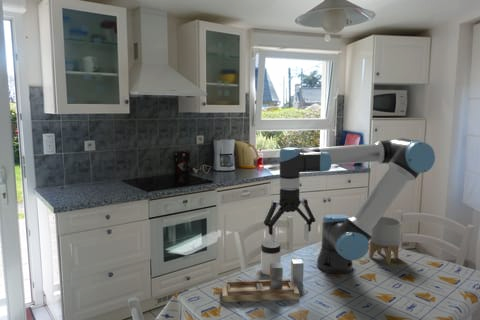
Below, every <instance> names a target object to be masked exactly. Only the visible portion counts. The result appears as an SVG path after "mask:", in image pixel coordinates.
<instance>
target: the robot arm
mask: <svg viewBox="0 0 480 320" xmlns="http://www.w3.org/2000/svg"><path fill="white" fill-rule="evenodd" d="M278 161H279V187H280V189H279V201H278V200H277V201H275V200H272V201H271V206H270V208H269V210H268V212H267V214H266V217H265V219H264V221H263V224H264V225H265V227H268V234H269V235H270V241H271V242H272V243H273V244H274V243H275V242H276V237H275V236H276V235H275V234H276V233H275V232H276V230H275V229H276V228H275V226H274V225H275V224H276V223H277V221H278V220H279V219H280V218H281V216H282V215H283V214H284V213H289V212H290V213H291V212H292V213H295V212H297V213H298V214H299V216H301V217H302V218H303V220H304V221H305V222H303V227H304V229H303V232H304V233H303V238H304V239H305V241H309V233H310V232H311V230H312V226H311V225H312V224H313V223H315V222H316V218H315V217H314V215H313V213H312V210H311V208H310V207H309V204H308V203H309V201H308V199H306V198H302V199H300V173H317V172H318V173H322V172H329V171H330V170H331V168H332V165H347V164H357V163H358V164H359V163H370V162H371V163H375V162H376V163H377V164H380V165H382V164H388V169H387V171H385V173H384V174H383V176H382V178H381V179H380V180H379V181H378V182H377V184H376V185H375V186H374V188H373V189H372V191H371V192H369V194H368V196H367V197H366V198H365V200H364V202H363V203H362V204H361V205H360V206H359V208H358V209H357V211H356V212H355V213H354V214H353V216H349V215H345V214H337V213H335V214H332V213H331V214H326V215H324V216H323V217H322V222H321V223H322V224H321V225H322V228H321V229H322V231H321V233H322V234H321V249H320V252H319V254H318V256H317V261H316V266H317V267H318V269H320V270H322V271H324V272H327V273H331V274H347V273H350V272H351V271H352V270H353V265H354V264H353V263H354V262H353V261H357V260H360V259H362V258H364V257H365V256H366V255H367V253H369V252H368V251H369V248H370V239H371V237H372V229H373V228H374V226H375V225H376V224H377V222H378V221H379V220H380V218H381V217H384V215H385V213H386V212H387V210H388V209H389V208H390V207H391V205H392V203H394V201H395V200H396V198H398V196H399V195H400V194H401V192H402V191H403V189H404V188H405V186H406V185H407V184H408V182H409V181H411V182H412V181H414V180H415V181H416V179H417V178H418V177H419V175H420V174H422V173H426V172H428V171H430V170H431V169H432V168H433V167H434V164H435V161H436V156H435V151H434V149H433V147H432V146H431V145H430V144H429V143H427V142H424V141H422V140H419V139H417V140H416V139H415V140H413V139H409V138H401V137H400V138H394V139H386V140H377V141H375V142H374V143H369V144H366V143H365V144H352V145H351V144H350V145H337V146H324V147H323V146H322V147H310V148H309V147H301V148H298V147H283V148H281V149H280V150H279V159H278ZM300 205H302V206H303V207H304V210H305V211H306V214H307V215H308V217H307V216H306V215H305V213H304V212H303V211H302V210H301V209H300V208H299V206H300ZM278 206H279V208H278V210H277V212H276V213H275V211H276V209H277V207H278ZM274 213H275V214H274Z"/></svg>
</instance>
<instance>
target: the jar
mask: <svg viewBox="0 0 480 320" xmlns="http://www.w3.org/2000/svg"><path fill="white" fill-rule="evenodd" d="M260 246H261V247H260V271H261V274H263V275H267V276H270V263H281V261H282V259H281V257H282V256H281V254H282V253H281V249H282V248H281V243H280V242H278V241H275V243H274V244H273V243H272V242H271V240H267V241H266V240H265V241H263V242H261V245H260ZM281 264H282V263H281Z"/></svg>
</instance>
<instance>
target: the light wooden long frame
mask: <svg viewBox="0 0 480 320" xmlns="http://www.w3.org/2000/svg"><path fill="white" fill-rule="evenodd" d="M300 295H301V294H300V291H299V289H298V286H297V285H296V284H295V283H292V282H291V278H287V279H283V265H282V263H270V275H269V279H254V280H253V279H252V280H247V279H246V280H227V283H226V284H221V298H222V303H234V302H235V303H237V302H242V303H243V302H264V301H265V302H266V301H268V302H269V301H294V300H295V301H297V300H298V301H299V300H300Z"/></svg>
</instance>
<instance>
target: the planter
mask: <svg viewBox="0 0 480 320" xmlns="http://www.w3.org/2000/svg"><path fill="white" fill-rule="evenodd" d="M401 227H402V222H401V220H399V219H397V218H393V217H388V216H382V217H381V218H380V220H379V221H378V222H377V224H376V225H375V226H374V228H373V229H372V237H371V239H370V240H369V250H368V251H369V252H368V257H369V259H373V258H374V254H375V253H378V254H381V253H382V249H383V250H384V253H385V262H386V264H391V261H392V253H393V258H395V259H398V258H399V248H400V246H399V245H400V242H401Z"/></svg>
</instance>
